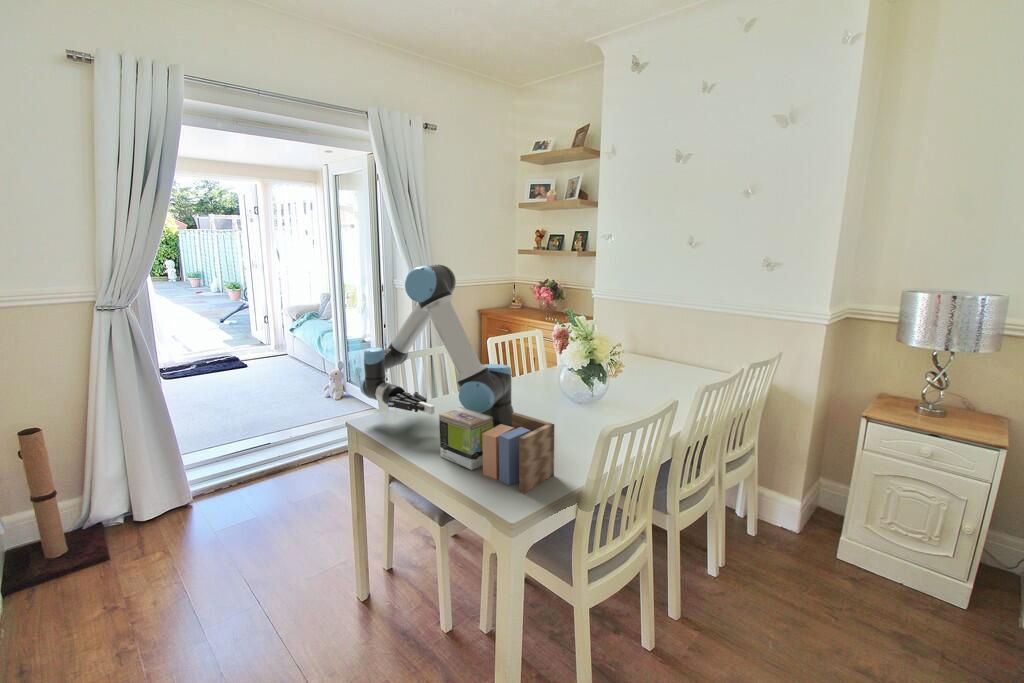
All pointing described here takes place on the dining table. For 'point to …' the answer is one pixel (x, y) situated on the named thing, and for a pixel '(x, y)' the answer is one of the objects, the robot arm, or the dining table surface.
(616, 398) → the dining table surface
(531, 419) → the shelf
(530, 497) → the dining table surface
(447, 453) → the tea box
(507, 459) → the blue book
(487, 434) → the rust book
